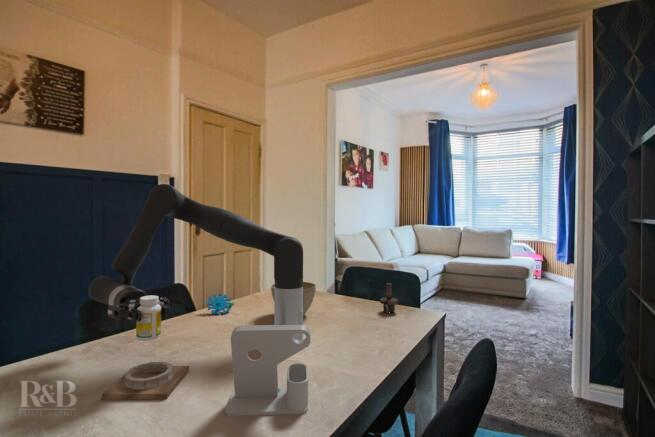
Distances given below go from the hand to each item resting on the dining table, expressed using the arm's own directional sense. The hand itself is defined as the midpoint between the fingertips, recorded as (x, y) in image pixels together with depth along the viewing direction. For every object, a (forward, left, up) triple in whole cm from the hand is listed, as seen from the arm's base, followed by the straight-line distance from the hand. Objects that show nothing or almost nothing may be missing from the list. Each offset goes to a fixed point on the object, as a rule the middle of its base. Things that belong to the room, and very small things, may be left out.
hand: (153, 314), depth 82 cm
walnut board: (+2, -2, -17) cm, 17 cm away
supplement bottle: (+2, -2, -6) cm, 7 cm away
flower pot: (-29, -59, -17) cm, 68 cm away
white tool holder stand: (-28, +7, -18) cm, 34 cm away
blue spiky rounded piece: (+1, -63, -18) cm, 65 cm away
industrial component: (-69, -63, -17) cm, 94 cm away
